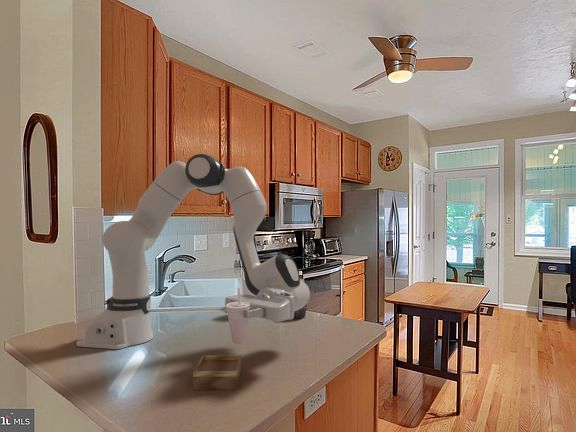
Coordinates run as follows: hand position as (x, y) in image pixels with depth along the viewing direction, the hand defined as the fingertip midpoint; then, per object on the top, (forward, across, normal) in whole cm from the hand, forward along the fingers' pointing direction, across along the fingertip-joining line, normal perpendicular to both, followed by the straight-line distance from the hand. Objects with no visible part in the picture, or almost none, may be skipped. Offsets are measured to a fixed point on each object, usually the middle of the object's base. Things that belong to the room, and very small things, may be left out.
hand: (235, 312), depth 88 cm
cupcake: (-52, -20, +16) cm, 58 cm away
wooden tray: (+6, 0, +15) cm, 16 cm away
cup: (-44, -36, +16) cm, 60 cm away
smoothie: (-2, 0, +8) cm, 8 cm away
